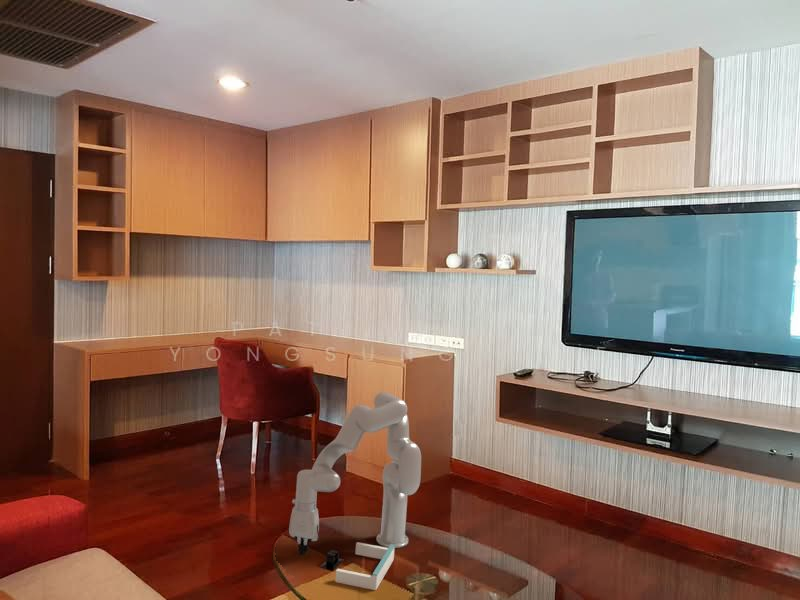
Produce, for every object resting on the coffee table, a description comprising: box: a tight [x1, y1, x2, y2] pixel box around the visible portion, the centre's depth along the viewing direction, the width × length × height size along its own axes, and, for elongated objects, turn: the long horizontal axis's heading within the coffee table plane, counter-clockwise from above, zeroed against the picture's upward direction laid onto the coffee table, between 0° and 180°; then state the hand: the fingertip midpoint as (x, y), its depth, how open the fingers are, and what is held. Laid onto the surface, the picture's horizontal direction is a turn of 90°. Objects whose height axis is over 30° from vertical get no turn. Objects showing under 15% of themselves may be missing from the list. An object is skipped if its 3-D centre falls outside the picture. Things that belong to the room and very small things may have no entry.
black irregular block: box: [319, 549, 345, 572], centre depth 224 cm, size 12×7×5 cm, turn 159°
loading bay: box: [334, 541, 396, 591], centre depth 221 cm, size 23×14×5 cm, turn 166°
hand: (302, 553), depth 227 cm, fingers closed
